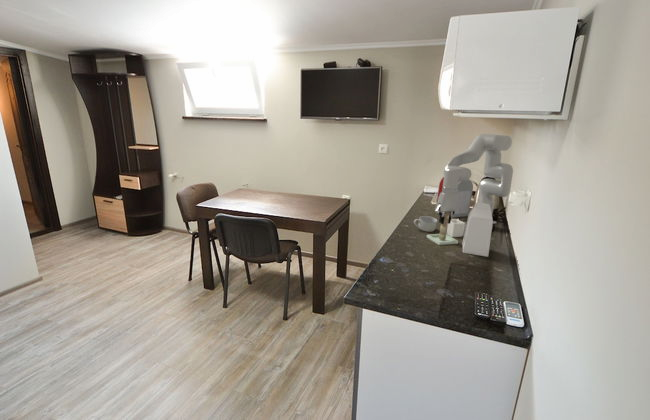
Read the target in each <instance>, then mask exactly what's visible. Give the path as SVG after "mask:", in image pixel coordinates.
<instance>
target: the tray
mask: <svg viewBox="0 0 650 420" xmlns="http://www.w3.org/2000/svg"><path fill="white" fill-rule="evenodd" d="M439 234H440V233H435V234H434V233H433V234H426V239H427V240H429V241H430V242H431V243H434V244H435V245H437V246H443V245H455V244H459V240H457V239H456V238H455V237H451V236H449V235H447V234H446V239H445V240H442V239H439Z"/></svg>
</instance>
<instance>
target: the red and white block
mask: <svg viewBox="0 0 650 420" xmlns="http://www.w3.org/2000/svg"><path fill="white" fill-rule="evenodd" d="M443 181H444V176H442V178H440V181H439V182H438V183H439V184H438V187H437V188H438V189H437V196H436V203H435V208H434V211H435V210H436V209H437V202H438V198H439V195H440V193H442V188H443ZM457 189H458V191H457V210H458V211H457V212H455V213H454V214H453V216H452V217H451V219H453V218H460V217H468V216H469V213H470V208H471V201H472V196H473V191H474V184H473V181H472V180H471V179H469V180H467V181H458V188H457ZM439 212H440V210H439Z"/></svg>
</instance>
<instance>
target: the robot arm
mask: <svg viewBox="0 0 650 420" xmlns="http://www.w3.org/2000/svg"><path fill="white" fill-rule="evenodd" d="M512 140H513V139H512V138H511V136H509V135H503V134H491V133H479V134H478V135H476V137H475V138H474V139H473V140H472V142H471V143H470V145H469V146H468V148H467V149H466V150H465V151H463V152H461V153H460V154H456V155H455V156H454V157H452V158H451V159H450V160H449V161H448V162H447V164H446V165H445V167H444V169H443V177H444V181H443V188H442V193H440V195H439V198H438V202H437V201H436V202H437V209H436V208H435V209H436V210H435V209H434V211H435V213H436V214H438V217H439V222H438V223H439V224H440V225H441V224H444V214H445V212H450V214H449V220H448V223H449V224H450V222H451V219H452V216H453V214H454V213H455V212H457V211H458V210H457V191H458V189H457V188H458V181H467V180H471V179H470V178H471V177H472V171H471V169H470V168H468V167H465V166H464V167H463V166H462V165H466V164H471V163H475V162H476V163H477V162H478V161H479V160H480V159H481V157H482V156H483V154H484V153H485V160H484V165H483V166H484V167H483V175H484V176H485V177H488V178H483V179H482V180H480V182H479V185H478V199H477V203H485V204H490V208H491V213H492V214H493V212H494V208H495V203H496V202H495V196H496V197H500V198H505V197H508V196H509V193H510V192H511V186H512V180H513V174H514V169H513V165H511V164H510V163H509V164H508V163H503V162H502V152H505V151H508V150H509V149H510V148H511V146H512V144H513V141H512ZM493 178H494V179H493ZM439 210H440V212H439ZM496 224H497V221H495V220H493V224H492V225H496ZM493 228H494V227H493V226H492V229H493Z"/></svg>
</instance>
